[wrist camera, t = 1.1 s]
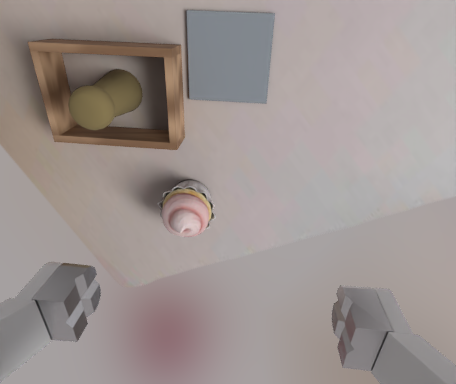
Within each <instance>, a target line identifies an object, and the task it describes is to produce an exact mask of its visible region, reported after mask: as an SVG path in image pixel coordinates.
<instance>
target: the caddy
mask: <svg viewBox="0 0 456 384" xmlns="http://www.w3.org/2000/svg"><path fill="white" fill-rule="evenodd" d="M28 45H29V49H30V53H31V56H32V60H33V64H34V67H35V71H36V75H37V78H38V82H39V86H40V90H41V93H42V97H43V101H44V104H45V108H46V112H47V115H48V119H49V123H50V127H51V130H52V134H53V138H54V141H55V142H66V143H81V144H95V145H110V146H125V147H140V148H155V149H169V150H177V149H178V148H179V146H180V145H181V143H182V141H183V140H184V138H185V130H184V106H183V82H182V58H181V45H175V44H152V43H130V42H108V41H86V40H64V39H47V40H39V41H32V42H28ZM61 52H63V53H84V54H105V55H126V56H147V57H164V66H165V81H166V95H167V110H168V125H169V130H156V129H140V128H124V127H108V126H107V127H105V128H104V129H99V130H89V129H86V128H84V127H82V126H80V125H78V124H77V123H76V122H75V120H74V119H73V118H72V116H71V114H70V112H69V106H68V103H69V98H70V96H71V93H70V88H69V84H68V79H67V75H66V70H65V66H64V62H63V57H62V53H61Z"/></svg>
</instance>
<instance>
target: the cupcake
mask: <svg viewBox="0 0 456 384" xmlns="http://www.w3.org/2000/svg"><path fill="white" fill-rule="evenodd" d="M158 206H159V208H160V209H161V210H162V211H161V214H160V216H161V218H162V219H163V223H164V225H165V227H166V228H167V230H168V231H169V232H171V233H173V234H174V235H178V236H184V237H192V236H196V235H199V234H201V233H202V232H203V231H204V230H205V229H209V228H210V221H212V220H214V219H215V218H216V216H215V214H214V212H213V209H214V206H215V205H214V203H213V202H212V201H211V195H210V192H209V190H208V189H207V188H206V187H205V186H204V185H203V184H202V183H200V182H198V181H194V180H187V181H183V182H181V183H179V184H178V185H177V186H176V187H174V188H173V189H172V190H169V191H166V192H164V193H163V200H161V201H160V202H159V203H158Z"/></svg>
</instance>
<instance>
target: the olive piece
mask: <svg viewBox="0 0 456 384" xmlns="http://www.w3.org/2000/svg"><path fill="white" fill-rule="evenodd" d="M142 97H143V95H142V88H141V85H140V83H139V82H138V80H137V79H136V77H135V76H133V75H132V74H131V73H130V72H127V71H125V70H120V69H116V70H112V71H110V72H109V73H107V74H106V75H105V76H104V77H102V78H101V79H100V80H99V81H98V82H96V83H95V84H94V85H93V86H88V85H86V86H82V87H79V88H77V89H76V90H75V91H74V92H73V93H72V94H71V96H70V98H69V103H68V106H69V112H70V114H71V116H72V118H73V119H74V120H75V122H76V123H77V124H79V125H80V126H82V127H84V128H86V129H89V130H99V129H104V128H105V127H107V126H108V125H109V124H110V123H111V122H112V120H113V119H114V117H116V116H119V115H122V114H125V113H127V112H130V111H133V110H134V109H136V108H137V107H138V106H139V105H140V103H141V101H142Z"/></svg>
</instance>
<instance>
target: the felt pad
mask: <svg viewBox="0 0 456 384" xmlns="http://www.w3.org/2000/svg"><path fill="white" fill-rule="evenodd" d="M274 17H275V13H248V12H222V11H195V10H187V37H188V70H189V99H194V100H212V101H230V102H247V103H265V104H266V102H267V91H268V80H269V70H270V59H271V49H272V38H273V28H274Z"/></svg>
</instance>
